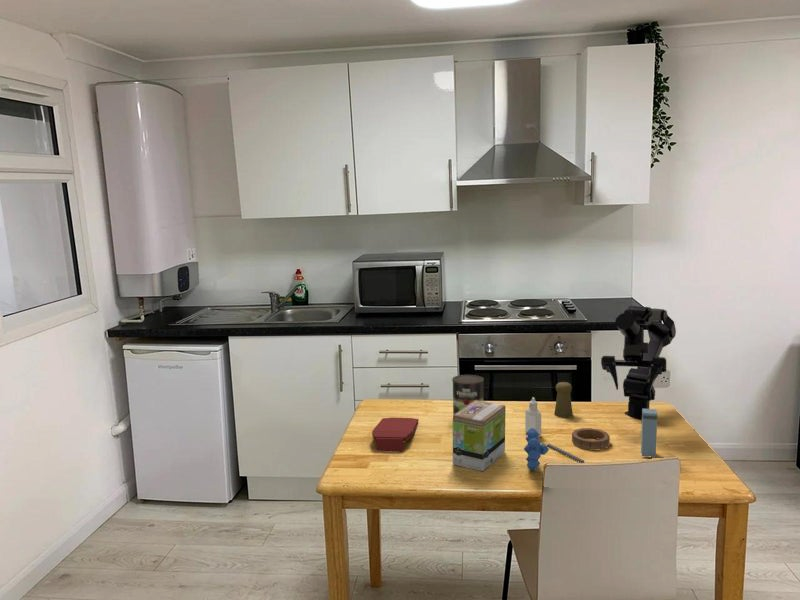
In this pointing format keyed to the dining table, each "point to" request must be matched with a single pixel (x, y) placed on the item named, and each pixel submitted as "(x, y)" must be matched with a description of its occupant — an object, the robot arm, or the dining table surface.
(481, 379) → the coffee can
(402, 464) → the dining table surface
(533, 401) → the eye dropper bottle
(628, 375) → the robot arm
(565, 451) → the thin gray square rod
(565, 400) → the cork
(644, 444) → the blue-gray square peg
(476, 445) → the tea box
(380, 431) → the red lunch box
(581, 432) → the bead ring
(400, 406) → the dining table surface
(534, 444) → the grapes
